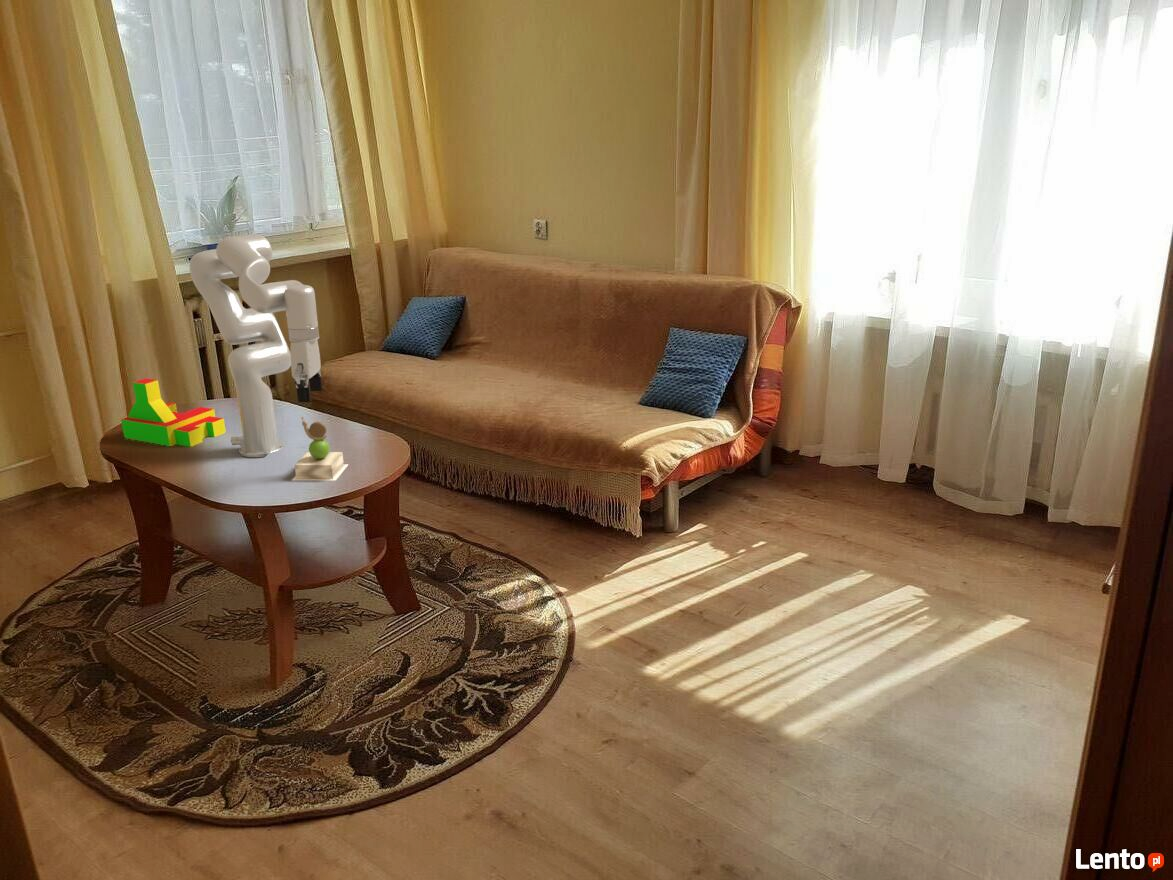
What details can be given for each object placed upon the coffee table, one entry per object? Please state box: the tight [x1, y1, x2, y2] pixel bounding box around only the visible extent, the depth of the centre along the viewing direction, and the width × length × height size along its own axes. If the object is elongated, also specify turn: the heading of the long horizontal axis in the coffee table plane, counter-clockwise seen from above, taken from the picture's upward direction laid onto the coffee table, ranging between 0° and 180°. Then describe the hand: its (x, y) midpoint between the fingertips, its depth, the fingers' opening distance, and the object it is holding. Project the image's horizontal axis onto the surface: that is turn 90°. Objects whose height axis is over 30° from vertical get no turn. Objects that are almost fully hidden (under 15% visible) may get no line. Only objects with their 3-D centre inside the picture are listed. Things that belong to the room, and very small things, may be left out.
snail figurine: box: [301, 416, 331, 459], centre depth 250 cm, size 5×6×12 cm
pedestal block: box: [294, 451, 345, 479], centre depth 253 cm, size 10×10×4 cm
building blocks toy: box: [120, 378, 227, 447], centre depth 286 cm, size 19×25×18 cm
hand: (310, 396), depth 247 cm, fingers open, 9 cm apart
